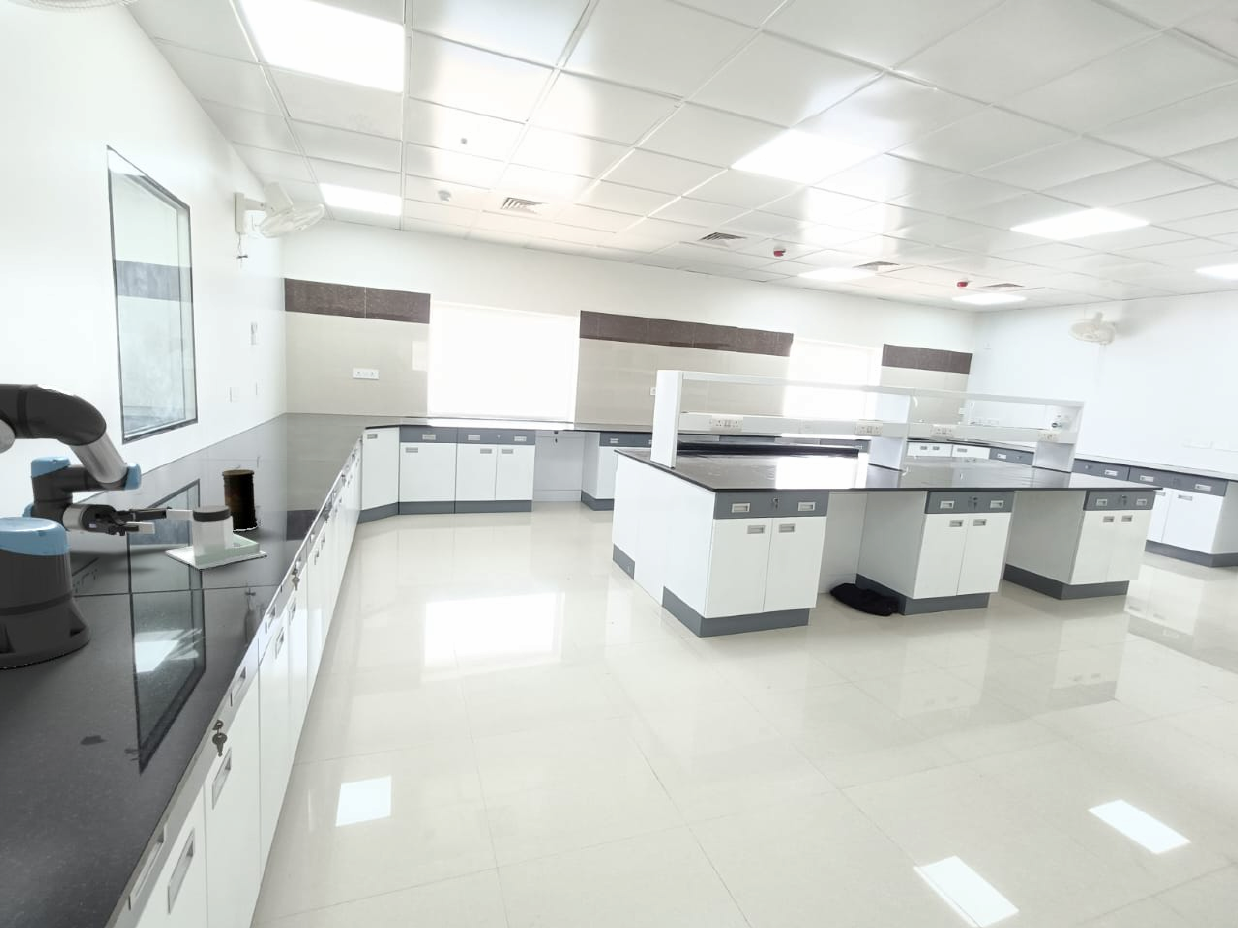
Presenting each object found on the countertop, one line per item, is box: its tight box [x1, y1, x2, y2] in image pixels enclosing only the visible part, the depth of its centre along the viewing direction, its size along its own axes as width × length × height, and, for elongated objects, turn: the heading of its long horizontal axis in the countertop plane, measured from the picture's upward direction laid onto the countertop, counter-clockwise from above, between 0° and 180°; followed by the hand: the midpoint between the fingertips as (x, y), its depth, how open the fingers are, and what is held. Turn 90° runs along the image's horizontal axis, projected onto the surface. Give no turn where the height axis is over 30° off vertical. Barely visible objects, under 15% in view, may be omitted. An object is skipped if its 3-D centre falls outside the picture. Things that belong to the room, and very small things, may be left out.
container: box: [221, 468, 259, 530], centre depth 182 cm, size 9×9×18 cm
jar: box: [191, 504, 235, 555], centre depth 157 cm, size 9×8×12 cm
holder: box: [164, 532, 268, 569], centre depth 159 cm, size 20×16×3 cm
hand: (173, 521), depth 157 cm, fingers open, 13 cm apart
